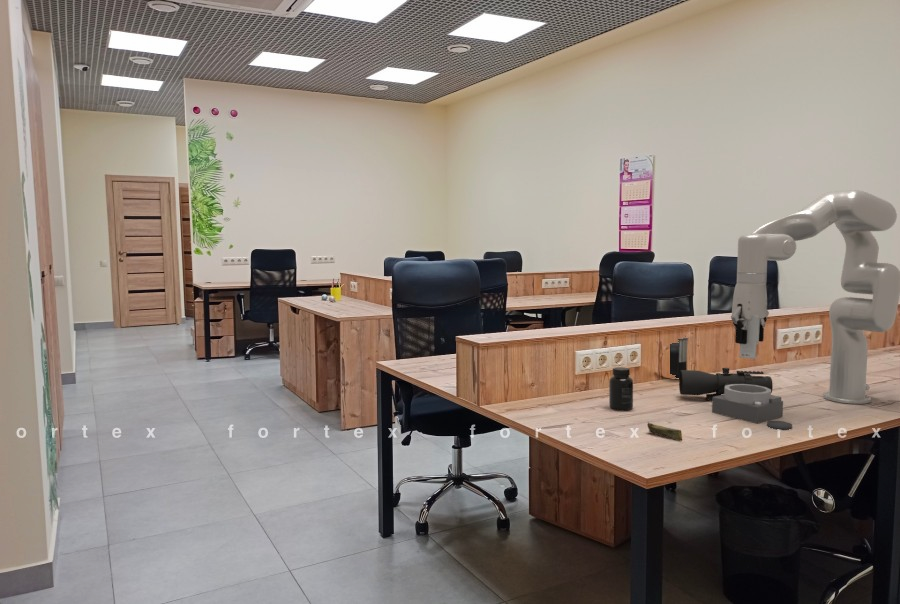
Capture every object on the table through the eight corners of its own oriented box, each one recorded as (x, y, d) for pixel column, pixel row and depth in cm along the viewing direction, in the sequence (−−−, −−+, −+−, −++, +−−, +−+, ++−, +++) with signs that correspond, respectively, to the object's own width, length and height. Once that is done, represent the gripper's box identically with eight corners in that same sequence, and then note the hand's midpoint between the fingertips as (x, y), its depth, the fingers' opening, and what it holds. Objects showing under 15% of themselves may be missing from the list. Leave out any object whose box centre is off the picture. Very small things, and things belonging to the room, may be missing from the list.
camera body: (737, 406, 195) (737, 381, 194) (782, 416, 183) (783, 390, 183) (712, 412, 189) (712, 386, 188) (757, 423, 177) (758, 396, 176)
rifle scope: (774, 405, 195) (775, 372, 194) (682, 402, 201) (683, 370, 200) (765, 397, 206) (766, 366, 205) (678, 394, 211) (678, 363, 210)
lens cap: (774, 423, 178) (775, 419, 178) (796, 428, 173) (796, 424, 173) (762, 427, 175) (762, 422, 175) (783, 432, 170) (783, 428, 170)
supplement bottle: (633, 406, 196) (634, 367, 195) (632, 412, 190) (632, 371, 189) (610, 404, 198) (610, 365, 197) (607, 410, 192) (608, 370, 191)
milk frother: (657, 374, 242) (658, 334, 240) (700, 374, 241) (701, 334, 240) (668, 383, 228) (669, 341, 226) (714, 383, 227) (716, 340, 226)
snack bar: (682, 441, 163) (683, 429, 162) (679, 442, 162) (679, 430, 161) (649, 432, 170) (649, 421, 170) (645, 433, 169) (646, 422, 169)
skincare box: (755, 359, 181) (757, 316, 180) (739, 357, 183) (740, 315, 182) (758, 355, 186) (760, 313, 185) (742, 354, 188) (744, 313, 187)
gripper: (757, 277, 190) (755, 337, 192) (720, 279, 181) (718, 343, 182) (782, 278, 184) (779, 341, 186) (745, 281, 175) (743, 347, 176)
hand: (749, 341), depth 184 cm, fingers closed on skincare box, 7 cm apart
